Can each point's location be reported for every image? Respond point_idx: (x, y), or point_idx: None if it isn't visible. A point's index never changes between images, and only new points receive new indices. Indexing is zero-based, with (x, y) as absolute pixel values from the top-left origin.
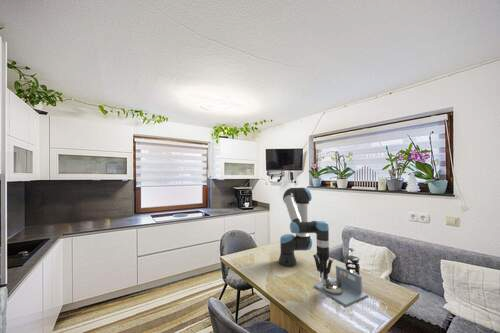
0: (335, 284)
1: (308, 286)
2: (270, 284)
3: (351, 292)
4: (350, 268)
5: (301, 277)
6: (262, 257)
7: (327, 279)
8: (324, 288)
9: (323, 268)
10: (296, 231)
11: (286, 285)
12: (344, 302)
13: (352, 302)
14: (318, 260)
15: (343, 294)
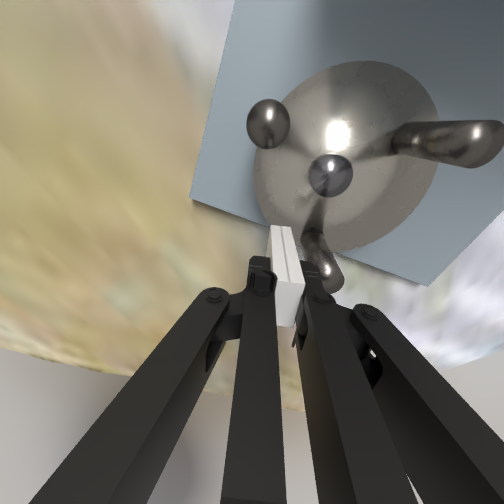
0: (363, 127)
1: (165, 217)
2: (31, 320)
3: (499, 101)
4: None
5: (28, 117)
6: None
7: (330, 287)
8: None
9: (309, 403)
10: None
11: (79, 285)
12: (421, 273)
13: (472, 233)
14: (121, 491)
15: None
